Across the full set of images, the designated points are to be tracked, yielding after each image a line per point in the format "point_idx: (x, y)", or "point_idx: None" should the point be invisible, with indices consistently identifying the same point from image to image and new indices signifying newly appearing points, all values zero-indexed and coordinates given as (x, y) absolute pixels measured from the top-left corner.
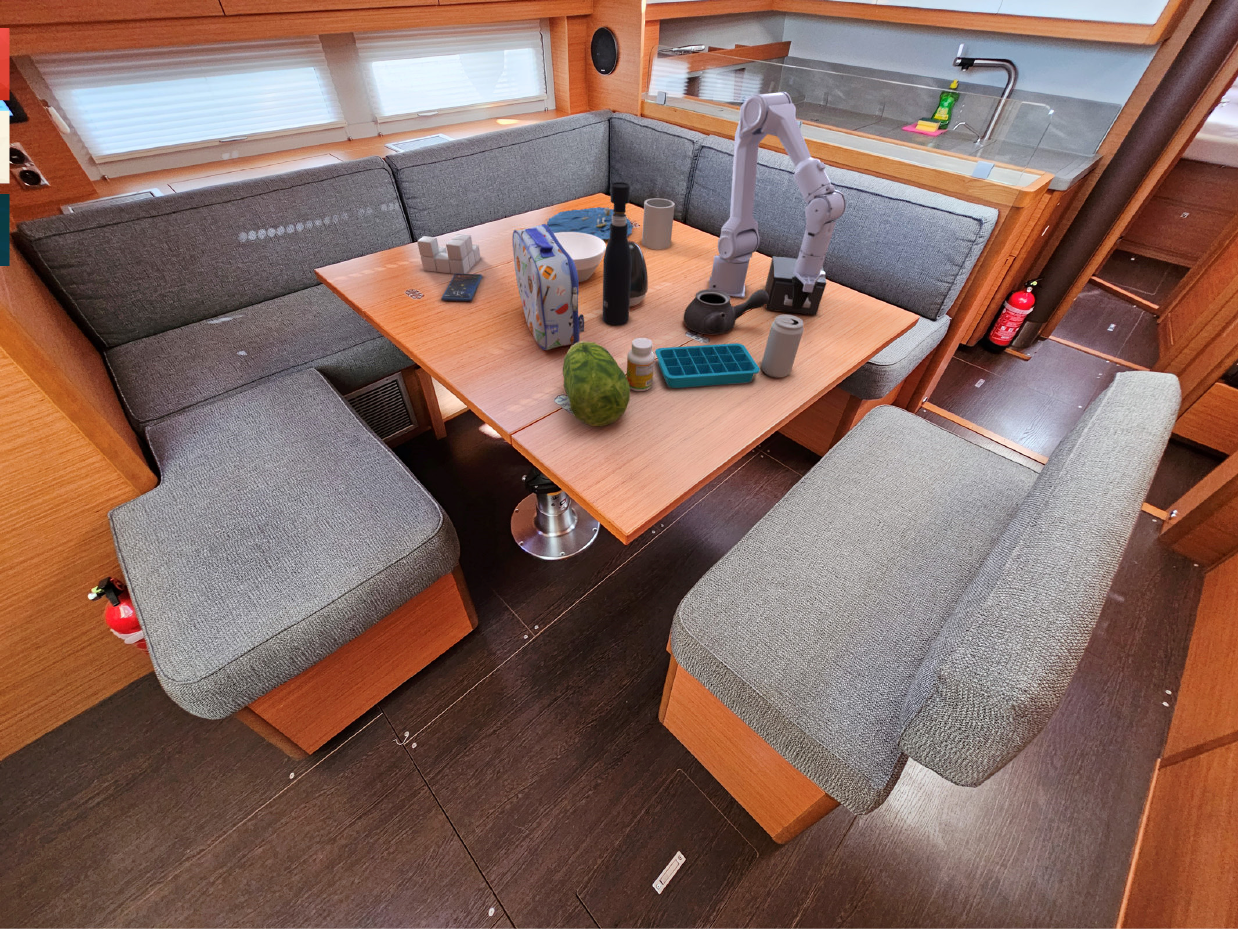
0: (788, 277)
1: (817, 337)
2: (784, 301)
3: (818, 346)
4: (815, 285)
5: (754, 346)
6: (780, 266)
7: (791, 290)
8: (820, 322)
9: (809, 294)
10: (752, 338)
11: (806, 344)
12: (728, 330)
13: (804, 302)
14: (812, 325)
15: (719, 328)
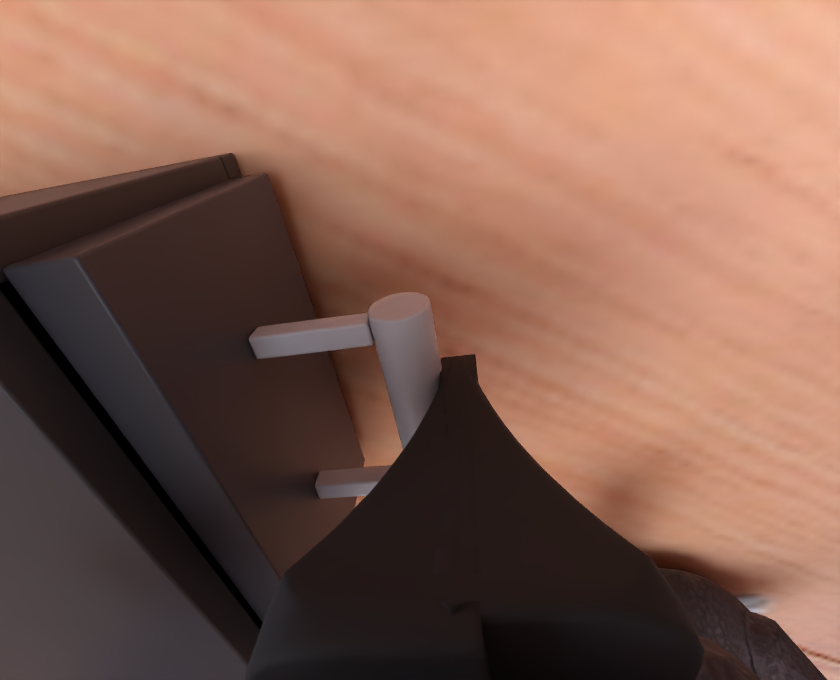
0: (199, 642)
1: (647, 102)
2: None
3: (826, 76)
4: (689, 643)
5: (804, 467)
6: (6, 676)
7: (294, 510)
8: (342, 97)
9: (530, 458)
10: (711, 480)
11: (784, 189)
12: (714, 587)
13: (480, 389)
14: (432, 167)
15: (804, 654)
